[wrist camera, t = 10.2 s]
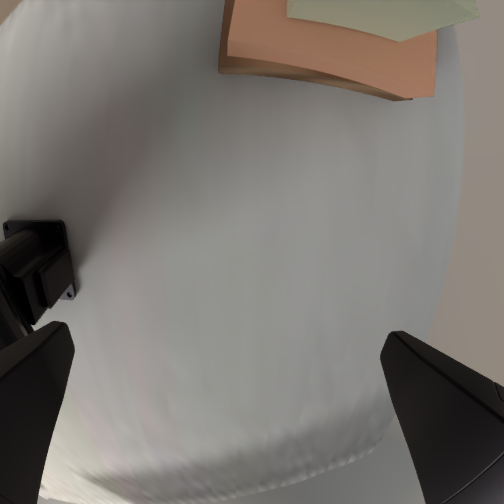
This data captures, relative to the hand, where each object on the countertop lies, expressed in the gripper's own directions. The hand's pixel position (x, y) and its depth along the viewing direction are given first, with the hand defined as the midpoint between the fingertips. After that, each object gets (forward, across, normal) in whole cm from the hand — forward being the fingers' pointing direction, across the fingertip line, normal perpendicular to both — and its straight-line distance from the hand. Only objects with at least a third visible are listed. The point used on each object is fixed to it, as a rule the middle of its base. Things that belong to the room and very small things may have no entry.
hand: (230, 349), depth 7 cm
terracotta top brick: (+11, -5, -15) cm, 19 cm away
